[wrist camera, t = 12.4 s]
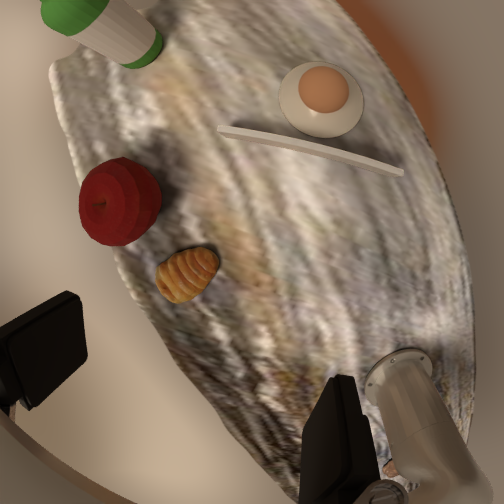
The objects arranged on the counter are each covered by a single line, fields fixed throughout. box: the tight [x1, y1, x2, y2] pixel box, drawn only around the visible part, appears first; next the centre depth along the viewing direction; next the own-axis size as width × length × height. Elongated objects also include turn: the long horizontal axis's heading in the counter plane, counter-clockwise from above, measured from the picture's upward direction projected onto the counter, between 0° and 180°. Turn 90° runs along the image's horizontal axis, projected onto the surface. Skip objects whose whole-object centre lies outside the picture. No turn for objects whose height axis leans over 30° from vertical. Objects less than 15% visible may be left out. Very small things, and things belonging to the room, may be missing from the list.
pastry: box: [155, 247, 219, 303], centre depth 37 cm, size 9×7×4 cm
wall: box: [217, 125, 404, 177], centre depth 30 cm, size 22×1×4 cm, turn 78°
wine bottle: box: [40, 0, 163, 69], centre depth 17 cm, size 8×8×30 cm
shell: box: [382, 458, 399, 478], centre depth 42 cm, size 12×13×4 cm
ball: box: [298, 66, 349, 113], centre depth 27 cm, size 6×6×6 cm
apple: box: [79, 157, 162, 246], centre depth 32 cm, size 11×11×12 cm
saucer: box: [279, 62, 364, 138], centre depth 30 cm, size 11×11×1 cm
